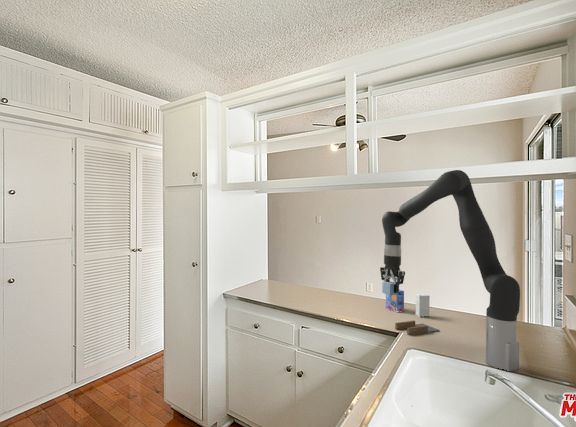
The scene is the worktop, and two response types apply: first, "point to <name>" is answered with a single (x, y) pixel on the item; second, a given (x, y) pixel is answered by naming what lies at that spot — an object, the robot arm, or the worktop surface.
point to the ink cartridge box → (395, 301)
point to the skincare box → (422, 304)
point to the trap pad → (430, 329)
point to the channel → (411, 327)
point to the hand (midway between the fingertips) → (391, 291)
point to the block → (388, 288)
